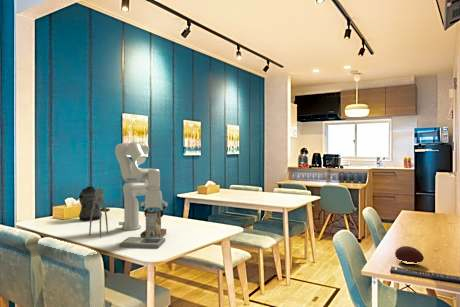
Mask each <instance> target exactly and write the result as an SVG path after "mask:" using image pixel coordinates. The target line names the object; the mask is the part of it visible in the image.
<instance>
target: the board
mask: <svg viewBox="0 0 460 307" xmlns="http://www.w3.org/2000/svg"><path fill="white" fill-rule="evenodd" d="M165 242H166V237H163V238H158V237H157V238H149V237H140V236H139V237H138V236H128V237H126V239H124V240H122V241H121V242H119V248H140V249H141V248H142V249H143V248H144V249H145V248H146V249H159V248H160V247H161V246H162V245H163V244H164V243H165Z"/></svg>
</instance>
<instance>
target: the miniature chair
mask: <svg viewBox="0 0 460 307" xmlns="http://www.w3.org/2000/svg"><path fill="white" fill-rule="evenodd" d="M95 190H96V191H95V197H96V200H94V203H93V207H92V212H91V218H90V221H89V234H88V236H91V232H92V222H93V221H92V216H93V211H94V207H95V203H97V204H98V207H99V209H100V220H99V238H100V239H101V238H102V216H101V213H102V210H101V209H102V208H101V207H102V206H101V205H103V209H104V216H105V226H106V227H105V229H106V230H105V231H106V234H109V226H108V225H109V224H108V214H107V213H108V212H107V208H106V202H105V199H104V189H103V187H97V188H96V189H95Z"/></svg>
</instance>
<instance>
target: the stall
mask: <svg viewBox="0 0 460 307" xmlns="http://www.w3.org/2000/svg"><path fill="white" fill-rule="evenodd" d="M166 235H167V228H161V232H160V233H159V234H158V237H157V238H165V236H166ZM139 237H146V229H145V230H144V231H142V232H141V233H140V234H139Z"/></svg>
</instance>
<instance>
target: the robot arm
mask: <svg viewBox="0 0 460 307" xmlns="http://www.w3.org/2000/svg"><path fill="white" fill-rule="evenodd" d="M114 151H115V156H116V160H117V162H118V163H119V166H120V172H121V175H122V179H123V181H124V182H126V183H124V184H123V186H122V193H123V200H124V204H123V205H124V206H123V207H124V212H123V213H124V216H123V217H124V221H119V222H118V225H119V226H121V229H122V230H124V231H135V230H140V229H141V228H142V226H141V225H140V224H139V221H140V220H139V217H140V216H139V215H140V209H139V208H140V207H141V208H142V210H143V215H144V217H145V218H146V212H148V211H149V210H148V209H150V208H152V209H157V208H159V209H160V210H161V211H160V217H161V218H162V217H163V216H164V210H165V209H166V208H167V206H168V205H169V204H168V203H169V202H166V201H165V200H163V195H162V193H163V192H162V191H161V171H160V169H158V168H142V167H138V166H140V165H142V164H144V163H145V162H146V160H147V156H146V155H147V154H148V153H149V151H150V147H149V145H148V143H147V142H144V141H133V142H123V143H118V144H116V146H115V150H114ZM128 156H130V157H128ZM130 158H131V159H130ZM138 196H145V197H144V201H142V202H139V200H138V198H137V197H138ZM163 205H164V206H163Z"/></svg>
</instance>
